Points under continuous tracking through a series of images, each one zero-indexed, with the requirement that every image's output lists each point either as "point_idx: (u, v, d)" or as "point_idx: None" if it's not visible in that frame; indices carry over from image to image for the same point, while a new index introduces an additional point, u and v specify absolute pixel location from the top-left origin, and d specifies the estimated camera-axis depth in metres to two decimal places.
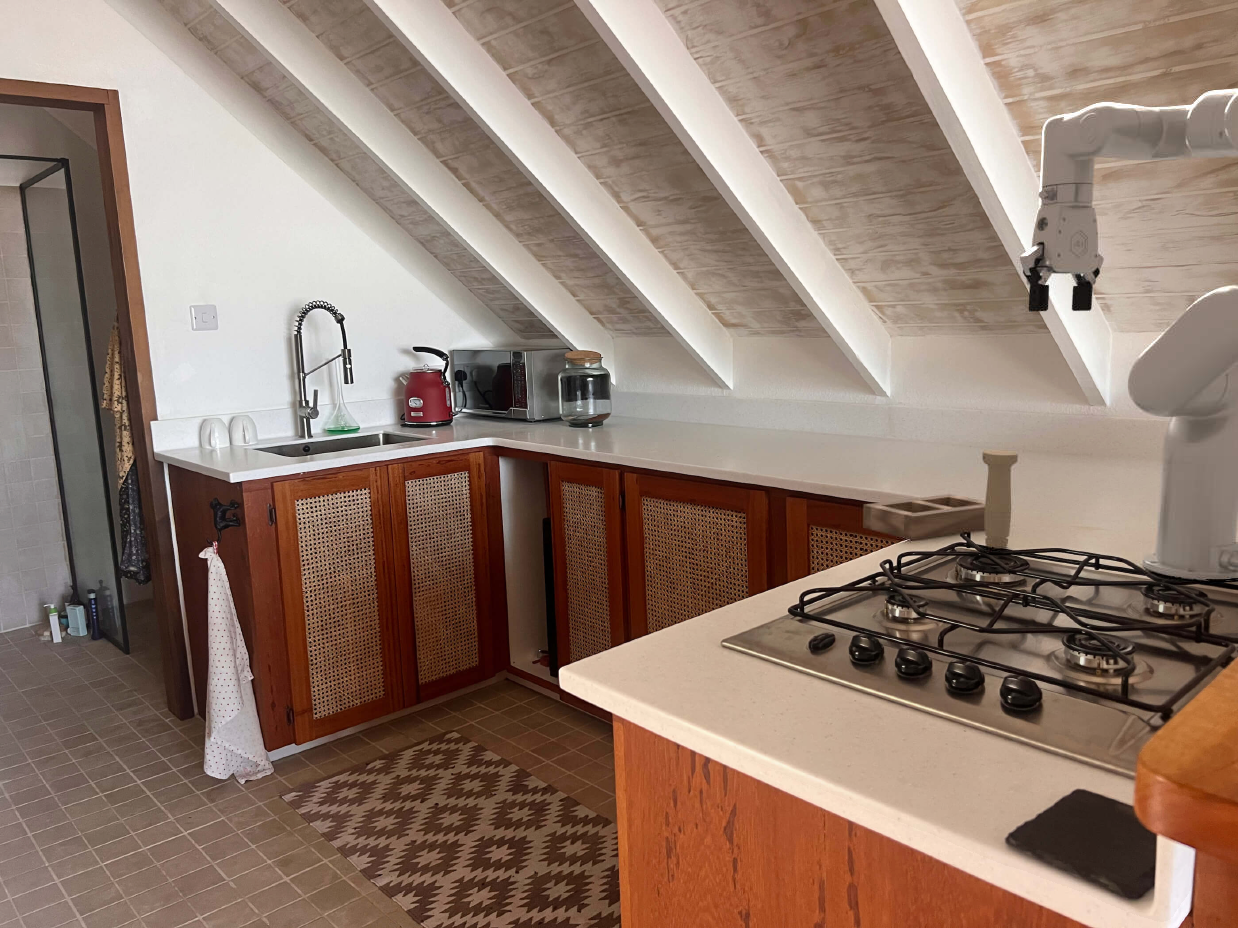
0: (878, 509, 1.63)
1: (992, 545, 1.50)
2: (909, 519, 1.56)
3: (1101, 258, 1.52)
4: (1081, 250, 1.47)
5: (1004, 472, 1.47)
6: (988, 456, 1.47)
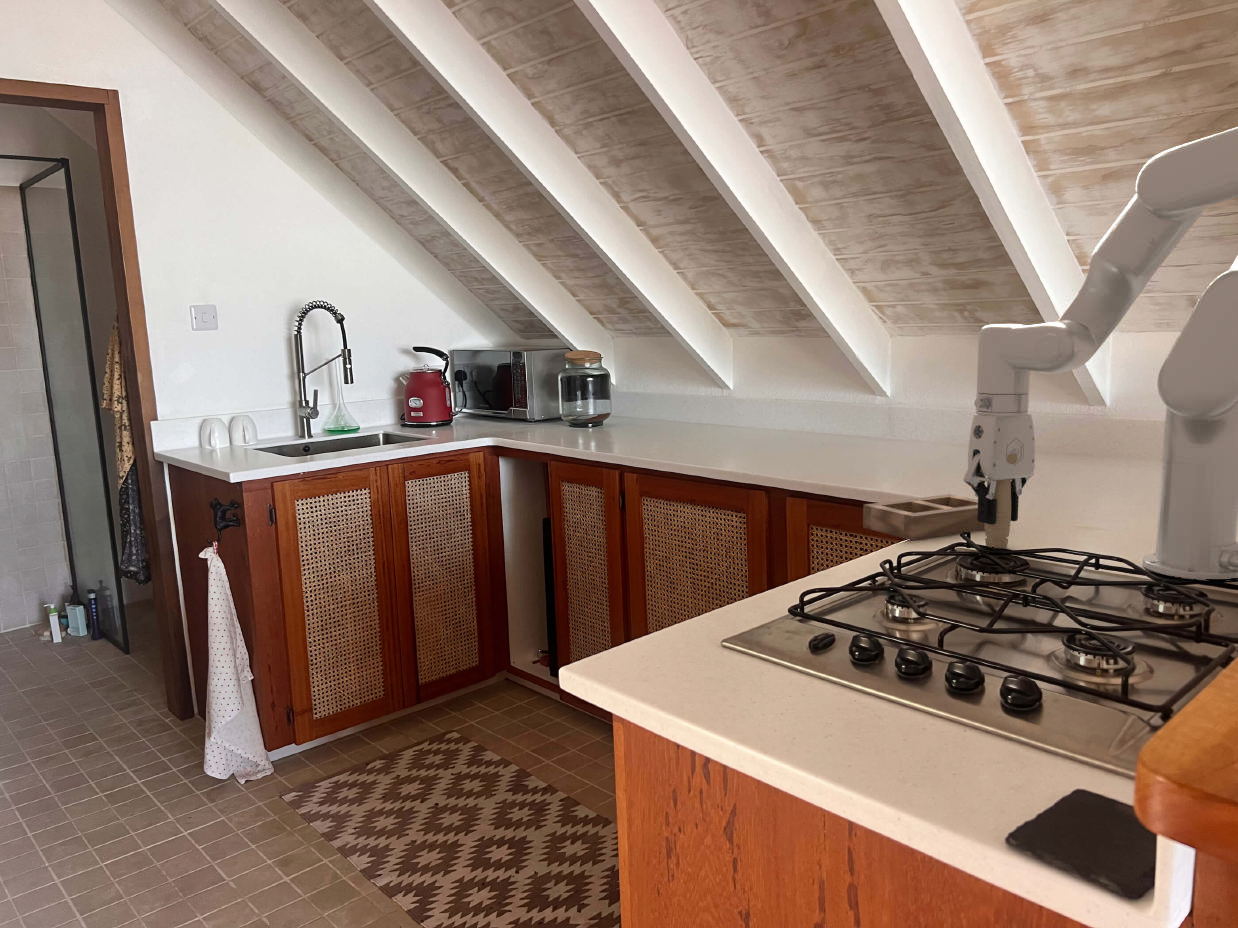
0: (878, 509, 1.63)
1: (992, 545, 1.50)
2: (909, 519, 1.56)
3: None
4: (1017, 458, 1.47)
5: None
6: None
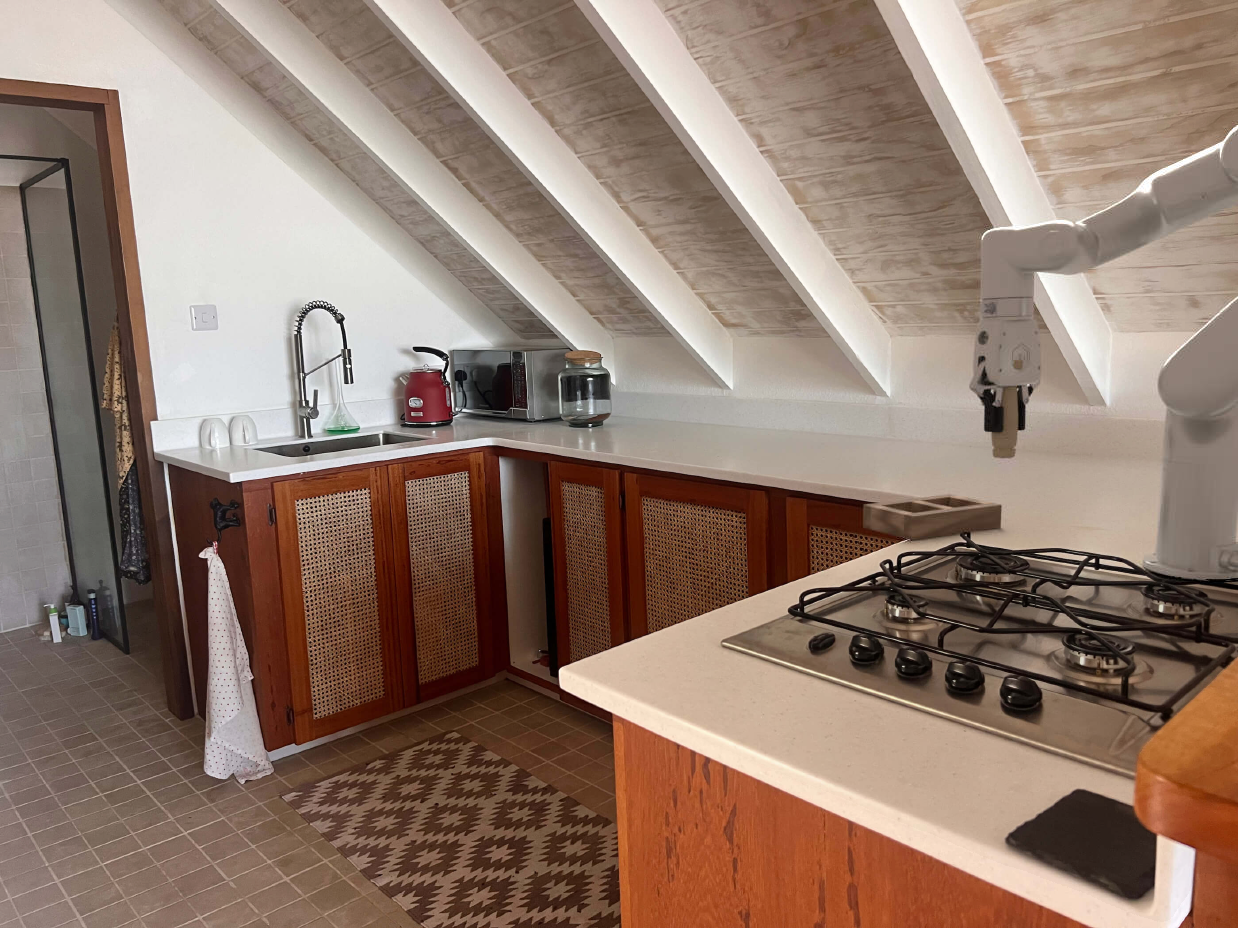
0: (878, 509, 1.63)
1: (999, 455, 1.47)
2: (909, 519, 1.56)
3: None
4: (1023, 364, 1.44)
5: None
6: None
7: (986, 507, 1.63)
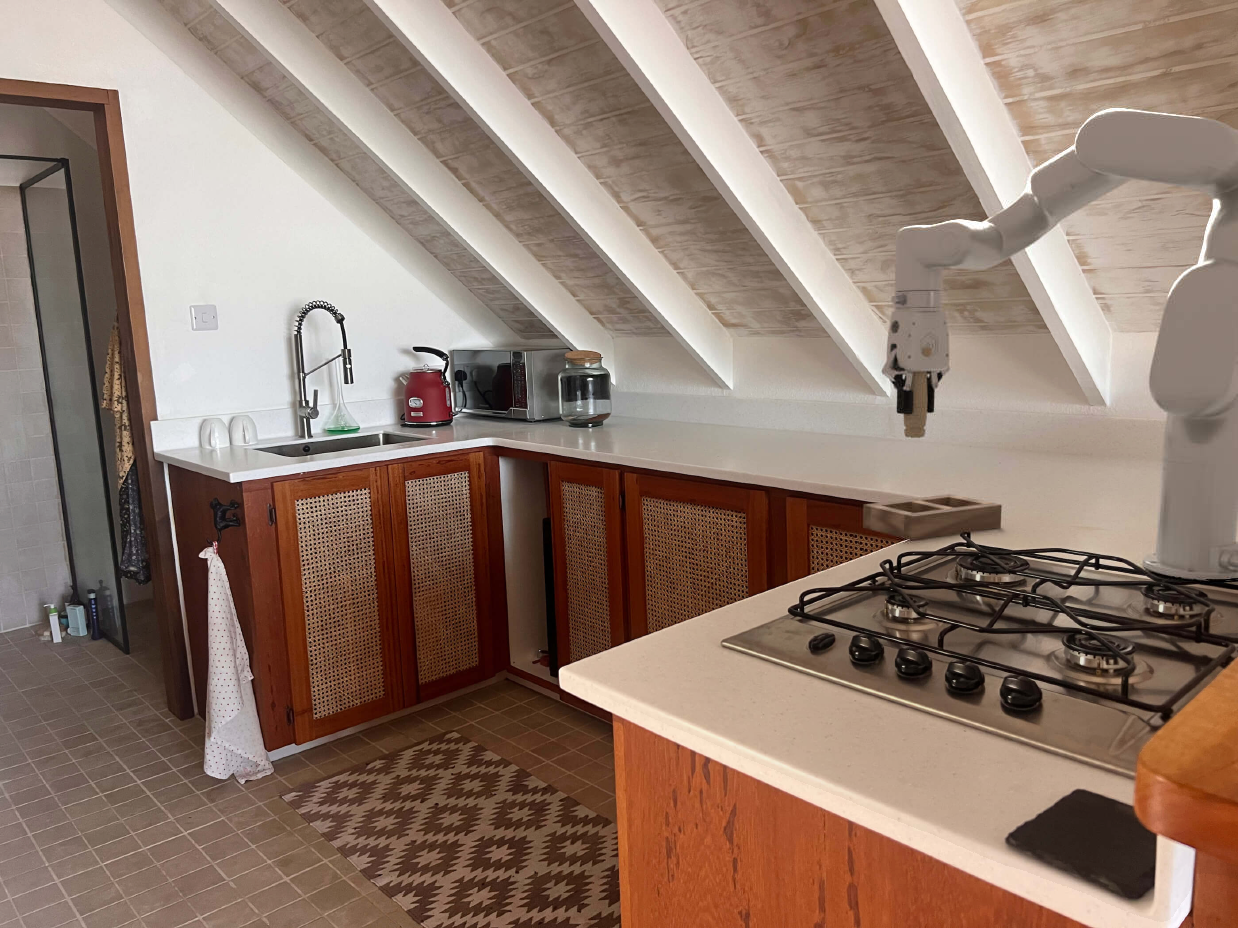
0: (878, 509, 1.63)
1: (910, 434, 1.60)
2: (909, 519, 1.56)
3: (948, 367, 1.62)
4: None
5: None
6: None
7: (986, 507, 1.63)
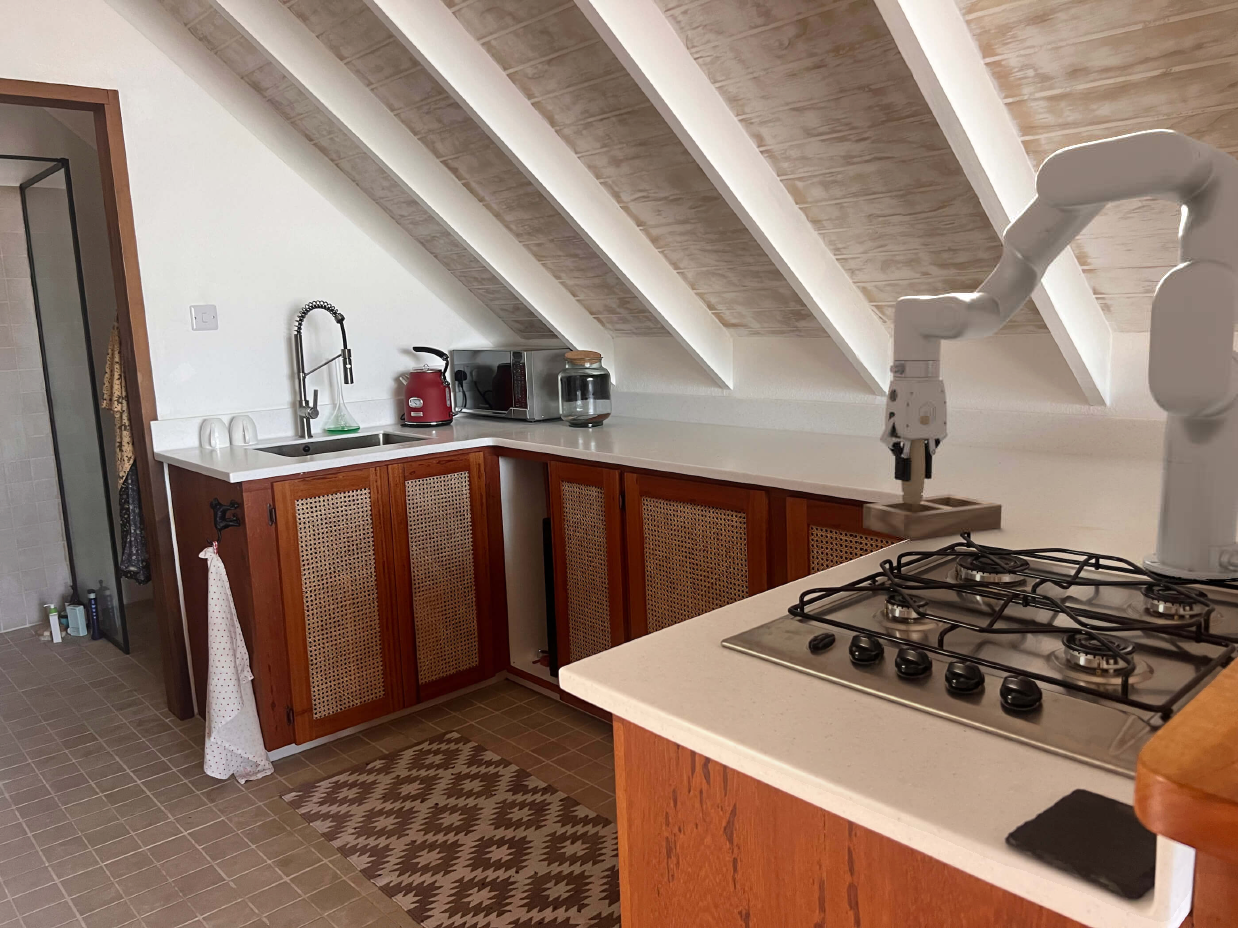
0: (878, 509, 1.63)
1: (908, 501, 1.62)
2: (909, 519, 1.56)
3: (945, 433, 1.64)
4: (929, 419, 1.59)
5: None
6: None
7: (986, 507, 1.63)
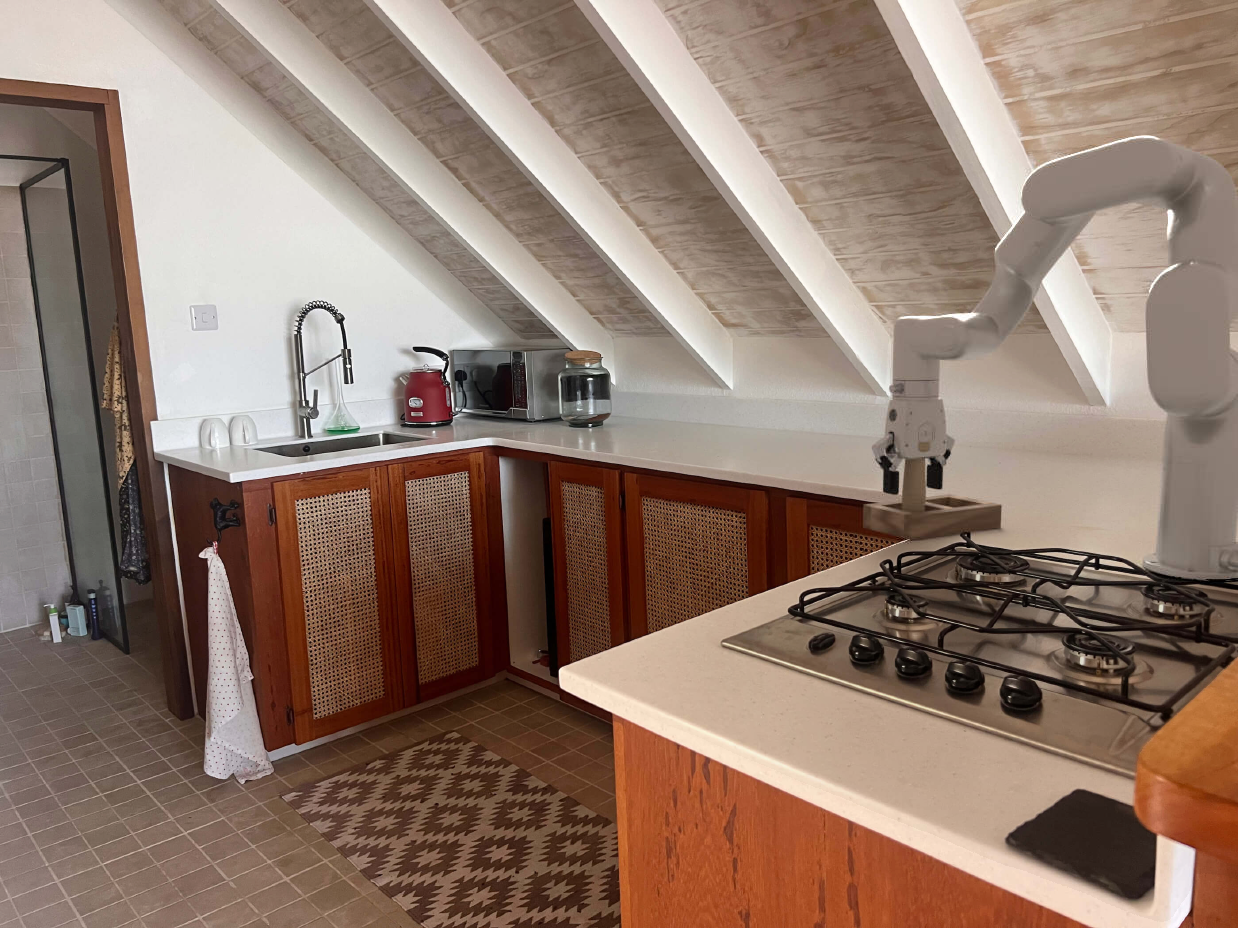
0: (878, 509, 1.63)
1: None
2: (909, 519, 1.56)
3: (952, 440, 1.65)
4: (929, 439, 1.60)
5: (918, 459, 1.60)
6: None
7: (986, 507, 1.63)
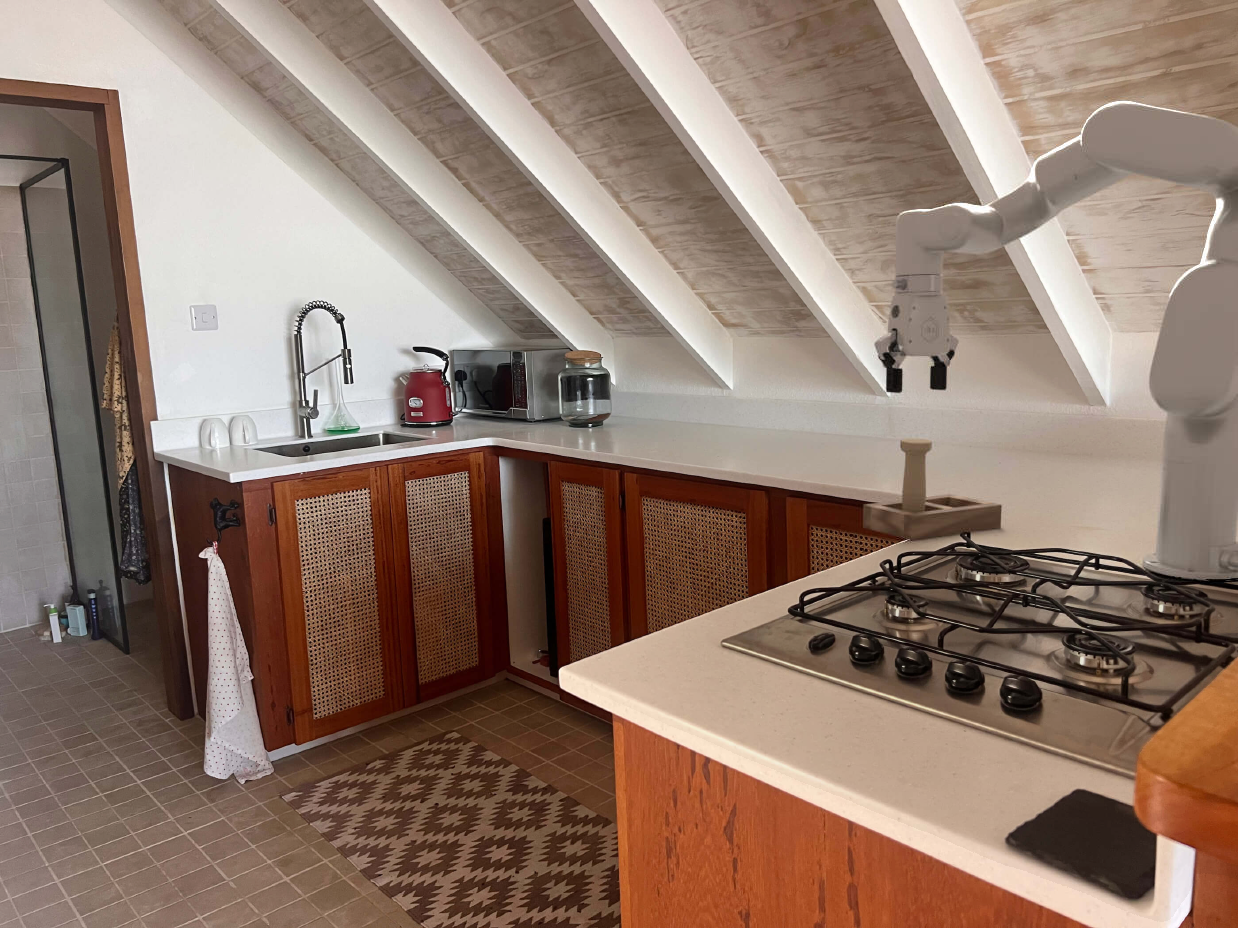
0: (878, 509, 1.63)
1: None
2: (909, 519, 1.56)
3: (956, 340, 1.62)
4: (932, 336, 1.57)
5: (918, 459, 1.60)
6: (904, 444, 1.60)
7: (986, 507, 1.63)
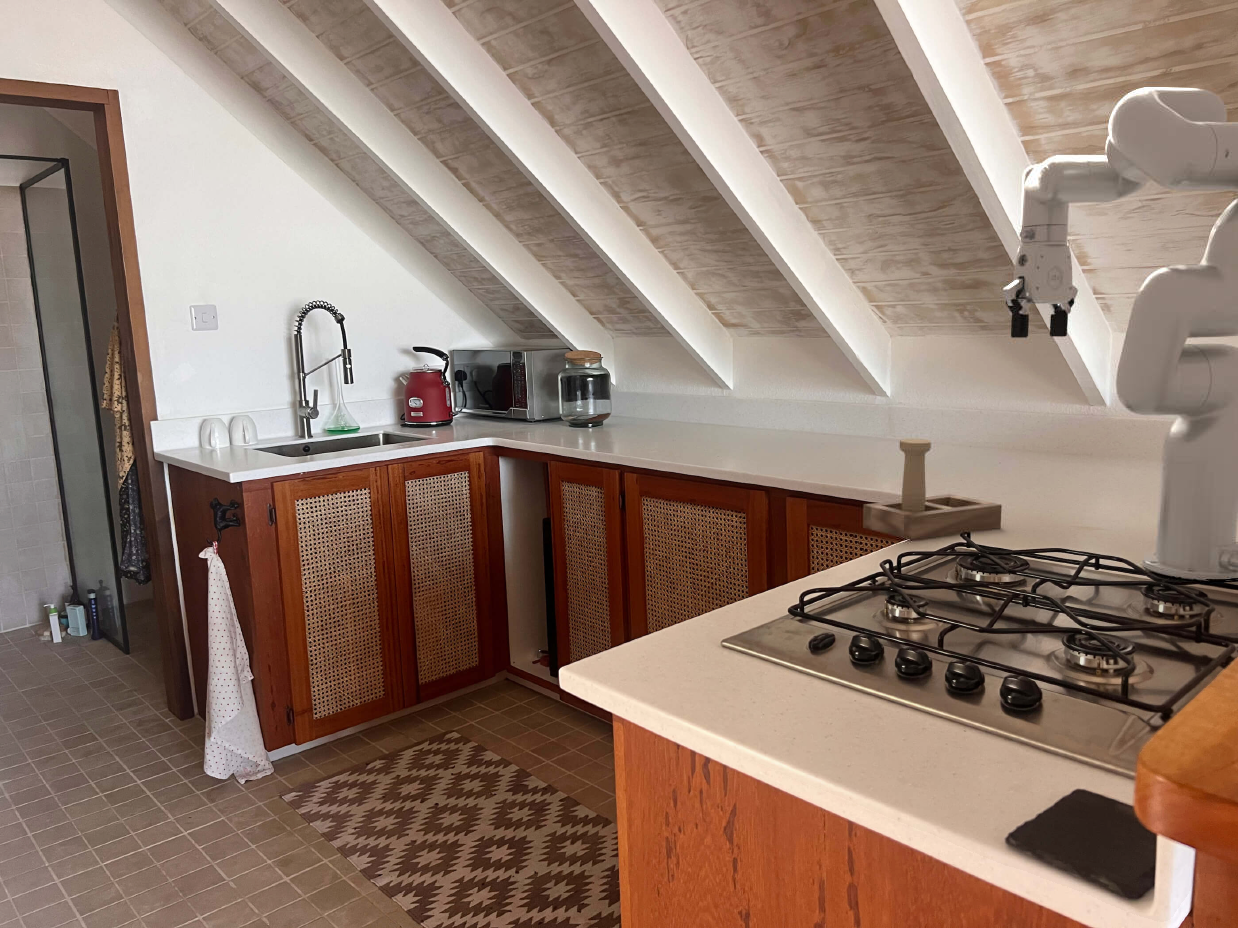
0: (878, 509, 1.63)
1: None
2: (909, 519, 1.56)
3: (1075, 289, 1.71)
4: (1057, 284, 1.66)
5: (918, 459, 1.60)
6: (903, 444, 1.60)
7: (986, 507, 1.63)
